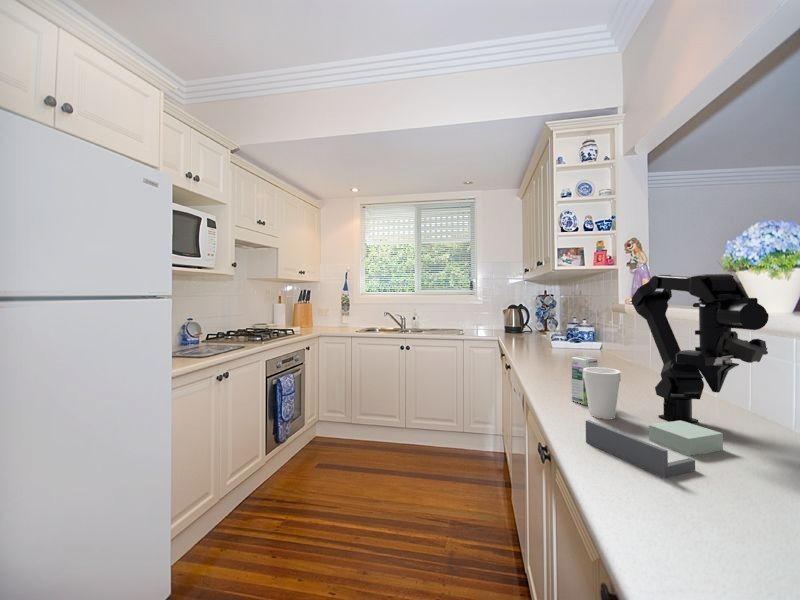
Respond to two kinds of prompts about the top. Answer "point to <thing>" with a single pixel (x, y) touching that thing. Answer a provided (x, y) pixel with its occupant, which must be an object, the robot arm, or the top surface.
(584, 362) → the syrup box
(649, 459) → the stand
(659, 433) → the carton
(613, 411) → the foam cup
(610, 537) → the top surface
